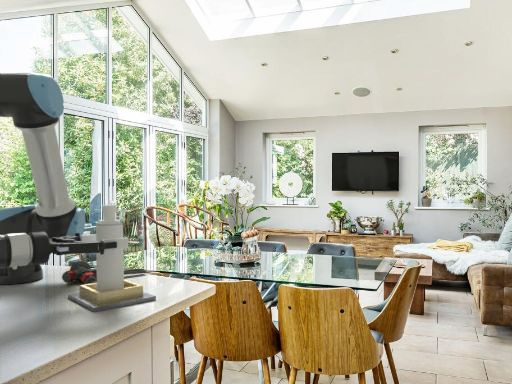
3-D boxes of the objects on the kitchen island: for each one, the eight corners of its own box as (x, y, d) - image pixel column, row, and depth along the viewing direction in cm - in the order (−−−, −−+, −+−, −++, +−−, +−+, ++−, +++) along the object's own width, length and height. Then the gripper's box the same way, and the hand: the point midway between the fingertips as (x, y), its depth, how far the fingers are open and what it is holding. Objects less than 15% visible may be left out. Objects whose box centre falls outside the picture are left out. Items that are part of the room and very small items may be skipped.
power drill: (70, 298, 128) (56, 282, 140) (156, 289, 144) (137, 275, 156) (71, 276, 127) (58, 261, 139) (158, 269, 143) (139, 256, 155)
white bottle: (128, 292, 122) (126, 198, 121) (117, 298, 115) (115, 199, 114) (104, 291, 122) (102, 198, 122) (92, 298, 116) (90, 199, 115)
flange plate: (67, 297, 120) (67, 284, 120) (125, 288, 131) (124, 276, 131) (94, 312, 107) (94, 297, 107) (155, 300, 117) (155, 286, 117)
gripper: (14, 258, 115) (97, 250, 129) (45, 272, 96) (138, 260, 110) (13, 229, 115) (96, 223, 129) (44, 237, 96) (137, 229, 110)
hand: (116, 240), depth 119 cm, fingers open, 13 cm apart
